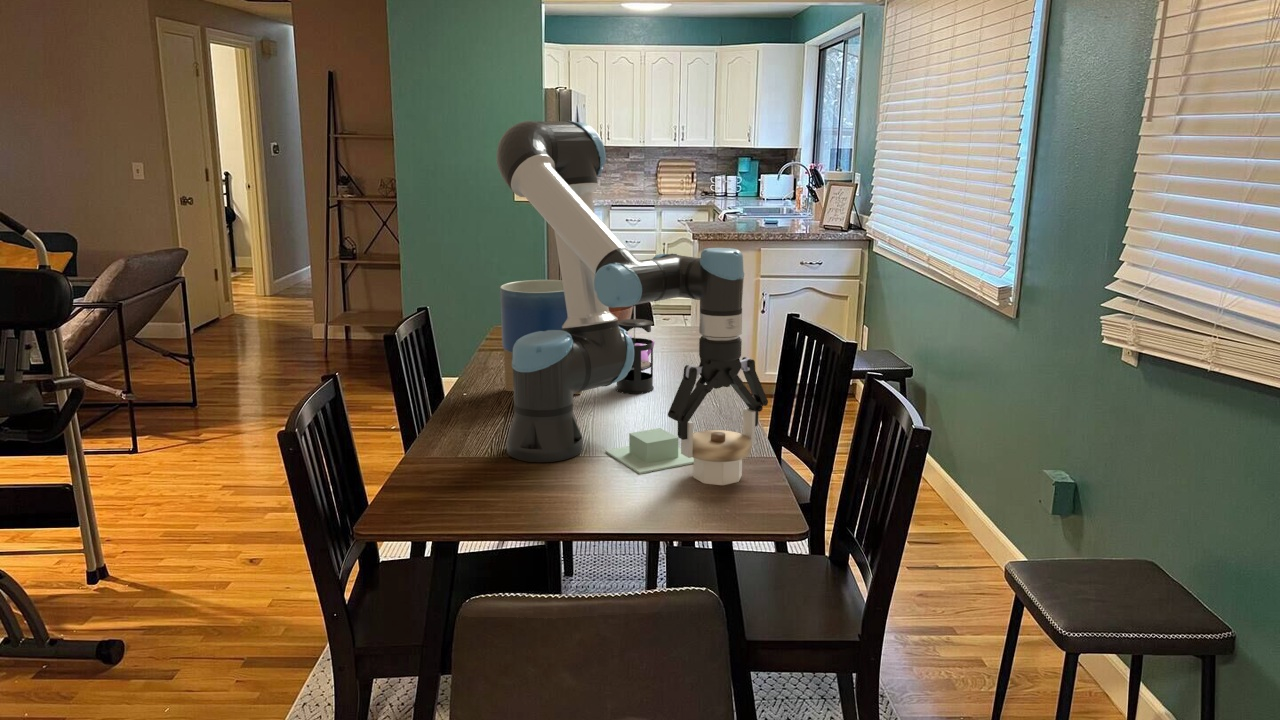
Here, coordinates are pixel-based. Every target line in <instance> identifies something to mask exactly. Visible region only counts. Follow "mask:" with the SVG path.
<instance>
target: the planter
mask: <svg viewBox="0 0 1280 720" xmlns="http://www.w3.org/2000/svg"><path fill="white" fill-rule="evenodd" d="M499 289H500V291H499V292H500V316H501V317H500V318H501V320H500V322H501V342H502V343H501V345H502V348H503V353H504V354H503V356H504V357H503V358H504V359H503V360H504V382H505V383H504V384H505V388H504V389H505V391H506V392H507V391H508V392H514V385H513V367H512V359H513V347H514V344H515V342H516V341H517V340H518V339H519V338H521V337H523V336H525V335H527V334H530V333H534V332H538V331H547V330H562V325H563V324H564V323H565V321H566V320H567V317H568V316H567V309H566V302H565V296H564V289H563V283H562V279H560V280H559V279H531V280H530V279H528V280H518V281H511V282H507V283H504V284H502V285H500V287H499ZM574 394H581V395H582V394H583V391H582V392H577V393H574ZM574 394H573V395H574Z"/></svg>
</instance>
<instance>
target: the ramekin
mask: <svg viewBox="0 0 1280 720" xmlns="http://www.w3.org/2000/svg"><path fill="white" fill-rule="evenodd" d="M692 474H693V475H692V477H693V478H694V479H695V480H696V481H699V482H701V483H703V484H707V485H715V486H716V485H717V486H726V485H731V484H735V483H739V482H740V480H741V478H742V475H743V459H741V460H737V461H730V462H711V461H704V460H699V459H696V458H694V463H693V473H692Z"/></svg>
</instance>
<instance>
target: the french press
mask: <svg viewBox="0 0 1280 720" xmlns="http://www.w3.org/2000/svg"><path fill="white" fill-rule="evenodd" d="M636 306H637V305H633V318H631V319H625V320H620V321H618V325H619V327H620V328H623V329H624V330H626V331H627V332H628V331H630V330H632V329H633V337H632V338H631V339H632V342H633V346H634V361H633V365H632V368H631V370H630V371H629V372H628V374H627V376H626V377H625V378H624V379H622V380H620V381H618V382H616V386H615V391H617V390H618V391H619V393H621V392H623V393H622V394H626V393H629V394H628V395H641V393H643V394H648V393H651V392H652V390H653V391H654V386H653V385H654V383H653V382H654V375H653V374H654V361H653V360H654V359H653V357H654V347H653V341H651V340H652V339H648V338H640V337H636V328H637V329H642V330H644V331H645V332H647V333H651V332H652V325H653V324H654V322H653V321H652V320H649V319H643V318H642V319H641V318H636ZM635 343H640V344H643V345H641V346H635ZM649 349H651V353H650V361H649V362H648V361H643V360H641V351H645V350H646V351H648V350H649ZM647 369H650V373H648V372H643V371H645V370H647ZM618 391H617V392H618ZM650 391H651V392H650ZM647 392H648V393H647Z"/></svg>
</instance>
